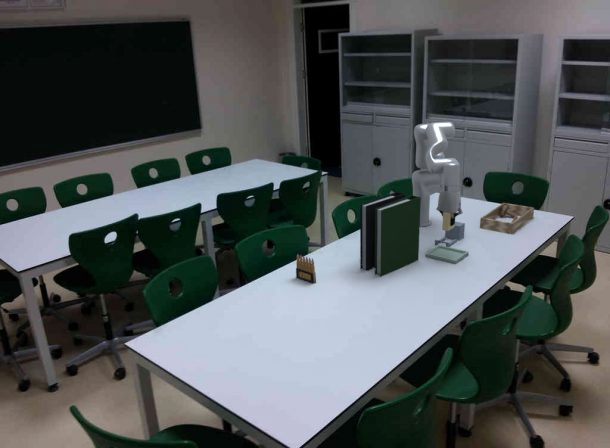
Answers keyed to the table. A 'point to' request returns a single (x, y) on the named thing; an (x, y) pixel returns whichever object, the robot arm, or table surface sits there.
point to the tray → (447, 254)
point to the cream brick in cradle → (447, 221)
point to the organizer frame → (506, 227)
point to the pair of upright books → (389, 232)
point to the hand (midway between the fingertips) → (448, 224)
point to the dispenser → (453, 234)
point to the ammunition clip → (305, 269)
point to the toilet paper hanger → (508, 213)
